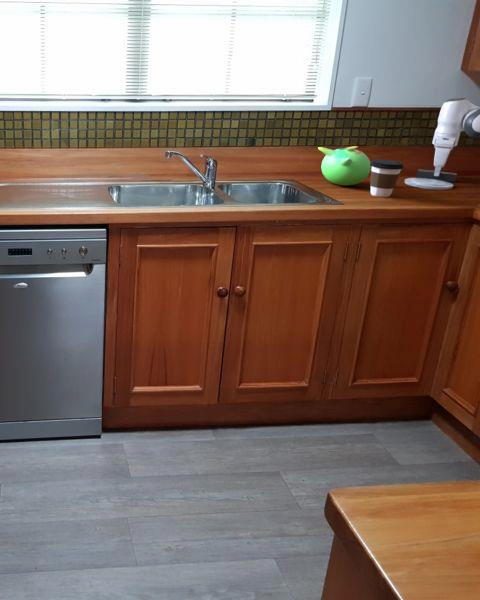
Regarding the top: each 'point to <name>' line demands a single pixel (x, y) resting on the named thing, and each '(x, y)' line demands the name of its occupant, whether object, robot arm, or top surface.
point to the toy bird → (345, 165)
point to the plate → (428, 183)
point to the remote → (442, 176)
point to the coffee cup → (384, 176)
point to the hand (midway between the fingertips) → (436, 174)
